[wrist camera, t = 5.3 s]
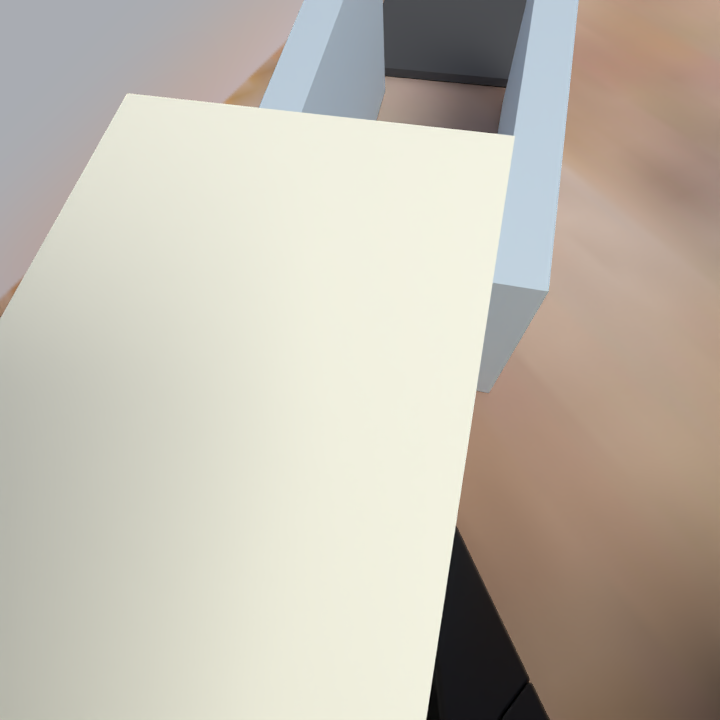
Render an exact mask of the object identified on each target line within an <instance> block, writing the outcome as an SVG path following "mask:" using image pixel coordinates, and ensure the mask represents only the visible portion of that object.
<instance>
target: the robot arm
mask: <svg viewBox="0 0 720 720" xmlns="http://www.w3.org/2000/svg"><path fill="white" fill-rule="evenodd" d="M529 680H530V679H529V676H528V674H527V672H526V670H525V668H524V666H523V664H522V661H521V659H520V657H519V655H518V653H517V651H516V649H515V647H514V645H513V643H512V641H511V639H510V636H509V634H508V632H507V630H506V628H505V626H504V624H503V622H502V620H501V618H500V616H499V614H498V611H497V609H496V607H495V605H494V603H493V601H492V599H491V597H490V595H489V593H488V591H487V589H486V587H485V584H484V582H483V580H482V578H481V576H480V574H479V572H478V570H477V568H476V566H475V564H474V562H473V559H472V557H471V555H470V553H469V551H468V549H467V547H466V545H465V543H464V541H463V539H462V537H461V534H460V532H459V530H458V528H457V526H456V527H455V533H454V540H453V547H452V553H451V560H450V566H449V573H448V579H447V586H446V593H445V599H444V606H443V612H442V619H441V625H440V632H439V639H438V645H437V652H436V658H435V665H434V671H433V678H432V685H431V691H430V698H429V704H428V711H427V717H426V720H550V719H549V717H548V715H547V713H546V711H545V709H544V707H543V705H542V703H541V701H540V699H539V697H538V694H537V692H536V690H535V688H534V686H533V684H532V683H529Z"/></svg>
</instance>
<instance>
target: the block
mask: <svg viewBox="0 0 720 720" xmlns="http://www.w3.org/2000/svg"><path fill="white" fill-rule="evenodd" d="M514 139H515V136H511V135H502V134H493V133H484V132H475V131H466V130H457V129H448V128H439V127H429V126H420V125H411V124H402V123H393V122H384V121H375V120H366V119H357V118H347V117H338V116H329V115H320V114H311V113H302V112H293V111H284V110H275V109H265V108H256V107H247V106H238V105H229V104H220V103H210V102H202V101H193V100H183V99H174V98H165V97H156V96H147V95H138V94H129V93H128V94H127V95H126V96H125V98H124V100H123V102H122V104H121V106H120V107H119V109H118V111H117V113H116V114H115V116H114V118H113V119H112V122H111V123H110V125H109V127H108V128H107V130H106V132H105V134H104V136H103V137H102V139H101V141H100V143H99V145H98V146H97V148H96V150H95V151H94V153H93V155H92V157H91V158H90V160H89V162H88V164H87V166H86V167H85V169H84V171H83V173H82V175H81V176H80V178H79V180H78V182H77V183H76V185H75V187H74V189H73V191H72V192H71V194H70V196H69V198H68V199H67V201H66V203H65V205H64V206H63V208H62V210H61V212H60V214H59V215H58V218H57V219H56V221H55V222H54V224H53V226H52V228H51V230H50V231H49V233H48V235H47V237H46V239H45V240H44V242H43V244H42V245H41V247H40V249H39V251H38V253H37V254H36V256H35V258H34V260H33V261H32V263H31V265H30V267H29V269H28V270H27V272H26V274H25V276H24V277H23V279H22V281H21V283H20V284H19V286H18V288H17V290H16V292H15V293H14V295H13V297H12V299H11V300H10V302H9V304H8V306H7V308H6V309H5V311H4V313H3V315H2V316H1V318H0V720H426V717H427V711H428V704H429V698H430V691H431V685H432V678H433V671H434V665H435V658H436V652H437V645H438V639H439V632H440V625H441V619H442V612H443V606H444V599H445V593H446V586H447V579H448V573H449V566H450V560H451V553H452V547H453V540H454V533H455V527H456V520H457V514H458V507H459V501H460V494H461V487H462V481H463V474H464V468H465V461H466V455H467V448H468V442H469V435H470V428H471V422H472V415H473V409H474V402H475V396H476V389H477V382H478V376H479V369H480V363H481V356H482V350H483V343H484V336H485V330H486V323H487V317H488V310H489V304H490V297H491V290H492V284H493V277H494V271H495V264H496V258H497V251H498V245H499V238H500V231H501V225H502V218H503V212H504V205H505V199H506V192H507V185H508V179H509V172H510V166H511V159H512V153H513V146H514Z"/></svg>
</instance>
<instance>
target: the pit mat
mask: <svg viewBox="0 0 720 720" xmlns="http://www.w3.org/2000/svg"><path fill="white" fill-rule="evenodd" d="M526 2H527V0H384V3H383V30H384V66H385V76H395V77H405V78H416V79H427V80H437V81H448V82H458V83H469V84H480V85H490V86H501V87H507V82H508V78H509V74H510V70H511V65H512V61H513V57H514V53H515V48H516V44H517V40H518V36H519V31H520V27H521V23H522V19H523V14H524V10H525V6H526Z"/></svg>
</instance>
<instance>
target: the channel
mask: <svg viewBox="0 0 720 720" xmlns="http://www.w3.org/2000/svg"><path fill="white" fill-rule="evenodd" d="M577 10H578V0H527V2H526V6H525V10H524V14H523V19H522V23H521V27H520V31H519V36H518V40H517V44H516V48H515V53H514V57H513V61H512V65H511V70H510V74H509V78H508V82H507V87H506V91H505V95H504V99H503V104H502V110H501V116H500V122H499V128H498V133H497V134H502V135H511V136H515V139H514V146H513V153H512V159H511V166H510V172H509V179H508V185H507V192H506V199H505V205H504V212H503V218H502V225H501V231H500V238H499V245H498V251H497V258H496V264H495V271H494V277H493V284H492V290H491V297H490V304H489V310H488V317H487V323H486V330H485V336H484V343H483V350H482V356H481V363H480V369H479V376H478V382H477V389H476V391H481V392H486V393H489V392H490V390H491V388H492V387H493V385H494V383H495V382H496V380H497V378H498V377H499V375H500V373H501V371H502V370H503V368H504V366H505V365H506V363H507V361H508V360H509V358H510V356H511V354H512V353H513V351H514V349H515V348H516V346H517V344H518V343H519V341H520V339H521V338H522V336H523V334H524V332H525V331H526V329H527V327H528V326H529V324H530V322H531V321H532V319H533V317H534V315H535V314H536V312H537V310H538V309H539V307H540V305H541V304H542V302H543V300H544V298H545V297H546V295H547V293H548V292H549V282H550V273H551V263H552V253H553V243H554V234H555V224H556V214H557V205H558V195H559V185H560V175H561V166H562V156H563V146H564V137H565V127H566V117H567V107H568V98H569V88H570V78H571V68H572V59H573V49H574V39H575V30H576V20H577ZM384 93H385V66H384V30H383V0H304V2H303V4H302V6H301V9H300V11H299V13H298V16H297V18H296V21H295V23H294V25H293V28H292V30H291V32H290V35H289V37H288V39H287V42H286V44H285V47H284V49H283V51H282V54H281V56H280V59H279V61H278V63H277V66H276V68H275V70H274V73H273V75H272V78H271V80H270V82H269V85H268V87H267V90H266V92H265V94H264V97H263V99H262V101H261V104H260V106H259V108H265V109H275V110H284V111H293V112H302V113H311V114H320V115H329V116H338V117H347V118H357V119H366V120H375V121H376V120H377V116H378V113H379V110H380V106H381V103H382V99H383V96H384Z"/></svg>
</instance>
